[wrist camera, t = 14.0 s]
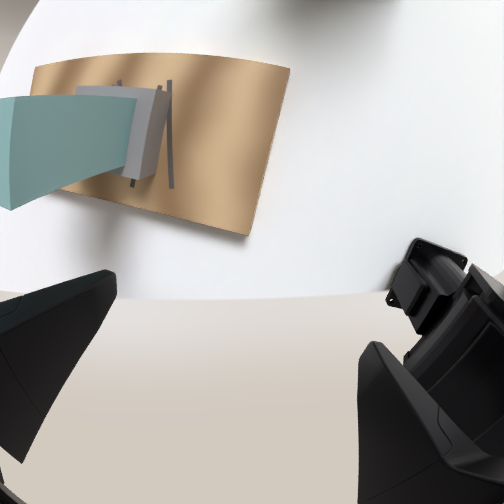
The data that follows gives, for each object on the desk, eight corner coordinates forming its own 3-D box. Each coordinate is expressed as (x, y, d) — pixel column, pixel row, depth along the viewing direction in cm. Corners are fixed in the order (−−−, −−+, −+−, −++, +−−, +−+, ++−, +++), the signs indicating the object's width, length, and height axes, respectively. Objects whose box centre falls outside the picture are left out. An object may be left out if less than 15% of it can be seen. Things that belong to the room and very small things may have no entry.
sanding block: (172, 92, 16) (36, 74, 5) (155, 173, 19) (28, 235, 8) (96, 87, 16) (-32, 90, 5) (85, 158, 19) (-36, 202, 8)
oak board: (289, 72, 16) (289, 68, 15) (251, 228, 21) (248, 235, 20) (45, 67, 17) (35, 67, 15) (34, 177, 22) (24, 181, 20)
